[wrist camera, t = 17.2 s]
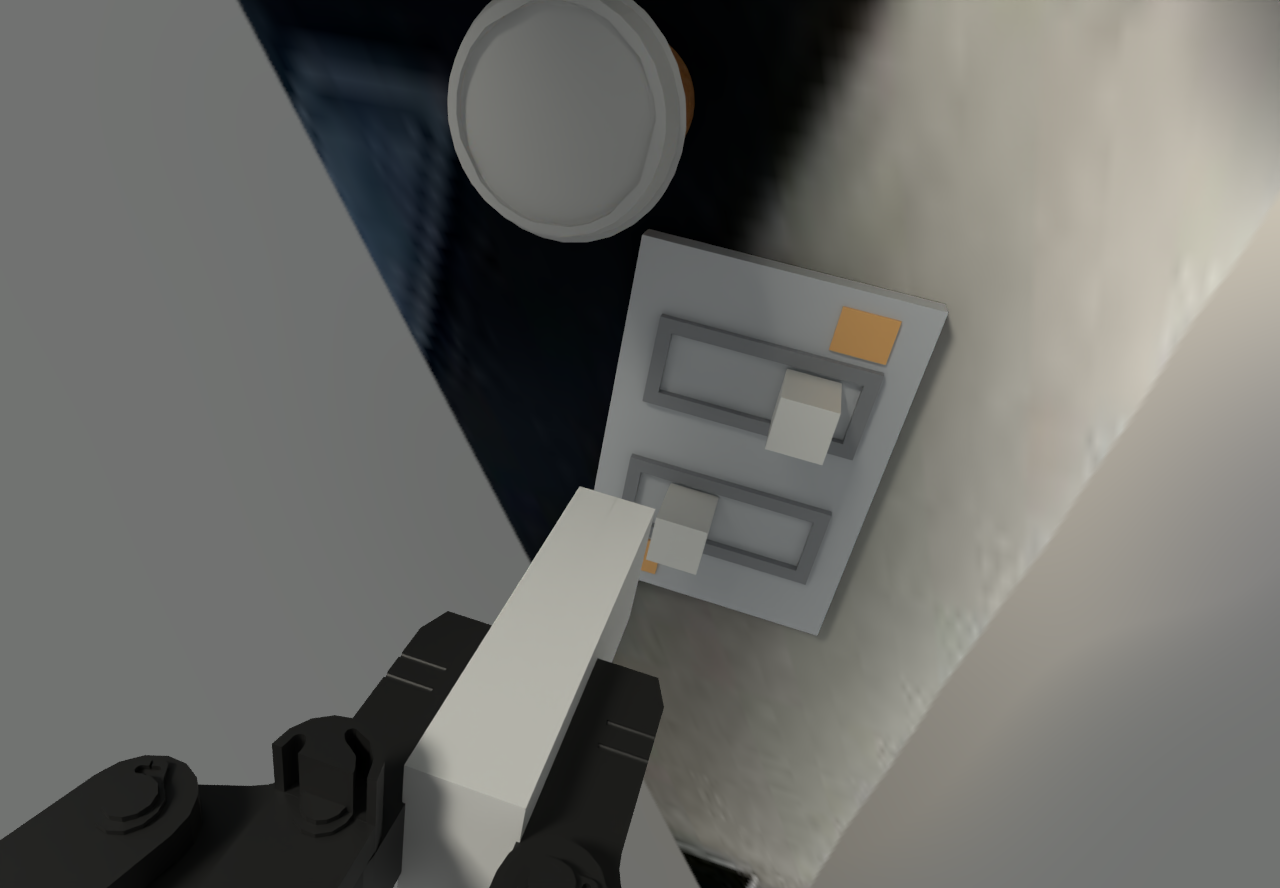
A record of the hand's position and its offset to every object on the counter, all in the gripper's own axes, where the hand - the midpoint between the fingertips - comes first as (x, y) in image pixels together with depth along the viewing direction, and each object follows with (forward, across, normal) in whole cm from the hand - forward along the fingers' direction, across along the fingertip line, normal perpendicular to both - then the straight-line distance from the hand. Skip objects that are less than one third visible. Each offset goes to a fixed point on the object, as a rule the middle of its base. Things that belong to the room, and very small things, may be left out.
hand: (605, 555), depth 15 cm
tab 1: (+28, 0, -16) cm, 32 cm away
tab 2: (+28, +5, -7) cm, 29 cm away
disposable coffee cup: (+30, -8, +5) cm, 31 cm away
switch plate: (+29, +2, -12) cm, 32 cm away
